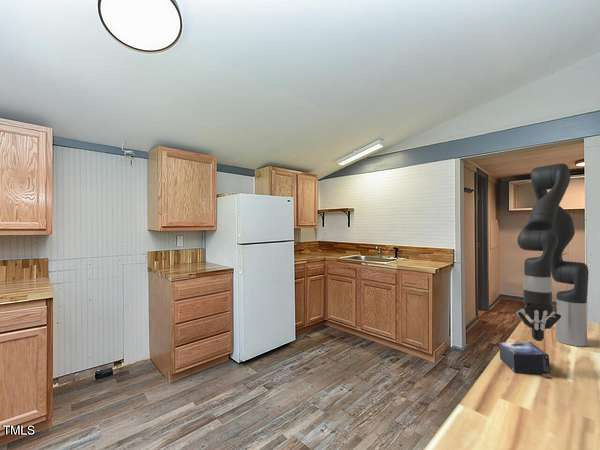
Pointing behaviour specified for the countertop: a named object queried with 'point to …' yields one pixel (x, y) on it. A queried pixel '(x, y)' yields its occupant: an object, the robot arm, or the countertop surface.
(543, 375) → the stop strip
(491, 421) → the countertop surface
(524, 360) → the small box
